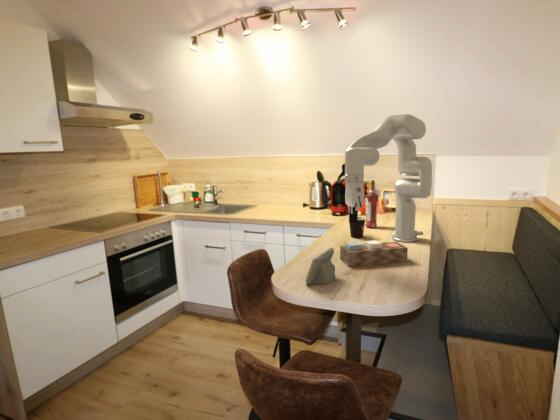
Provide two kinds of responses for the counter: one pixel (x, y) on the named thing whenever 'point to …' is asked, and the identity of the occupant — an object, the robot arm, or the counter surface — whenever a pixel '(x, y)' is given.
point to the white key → (373, 244)
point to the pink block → (392, 245)
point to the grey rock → (321, 268)
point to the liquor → (371, 207)
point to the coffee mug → (357, 228)
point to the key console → (373, 255)
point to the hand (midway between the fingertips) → (353, 222)
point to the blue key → (353, 246)
